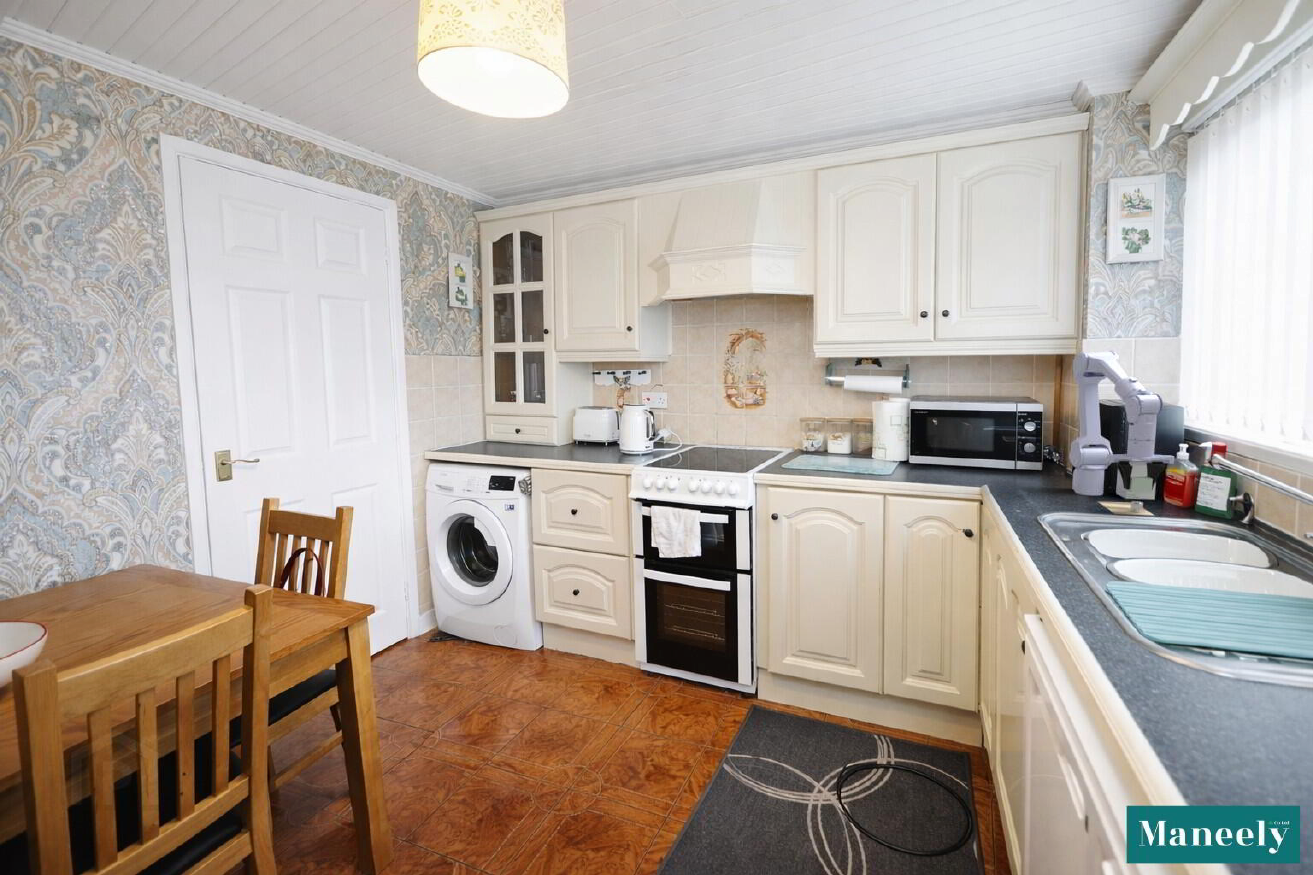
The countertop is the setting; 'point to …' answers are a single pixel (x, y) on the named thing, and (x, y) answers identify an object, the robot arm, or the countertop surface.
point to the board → (1123, 508)
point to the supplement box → (1136, 470)
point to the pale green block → (1140, 484)
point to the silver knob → (1136, 506)
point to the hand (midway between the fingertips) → (1138, 489)
